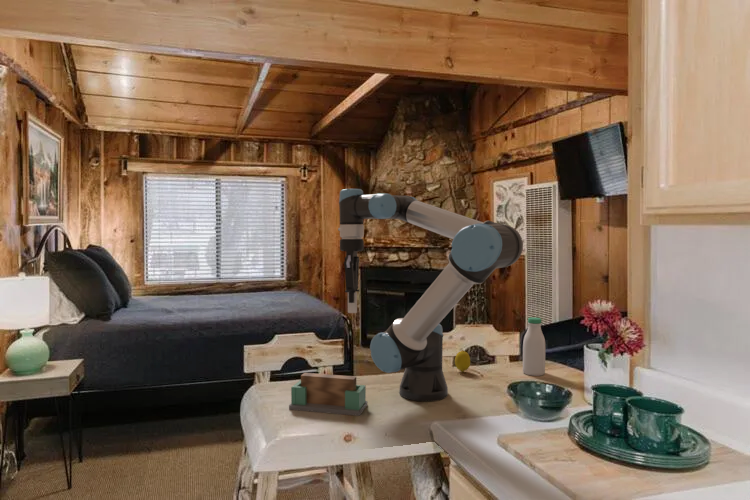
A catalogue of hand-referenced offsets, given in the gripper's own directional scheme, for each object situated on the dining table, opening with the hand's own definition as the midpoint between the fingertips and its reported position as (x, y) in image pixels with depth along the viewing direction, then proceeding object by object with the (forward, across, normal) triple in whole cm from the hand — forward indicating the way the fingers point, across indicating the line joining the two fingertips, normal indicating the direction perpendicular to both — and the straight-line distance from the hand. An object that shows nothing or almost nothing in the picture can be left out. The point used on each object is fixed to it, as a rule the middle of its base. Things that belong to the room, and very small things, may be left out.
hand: (352, 312), depth 168 cm
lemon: (+26, -29, +35) cm, 52 cm away
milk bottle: (+26, -31, +60) cm, 73 cm away
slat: (+24, +15, -4) cm, 29 cm away
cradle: (+26, +15, -4) cm, 30 cm away
